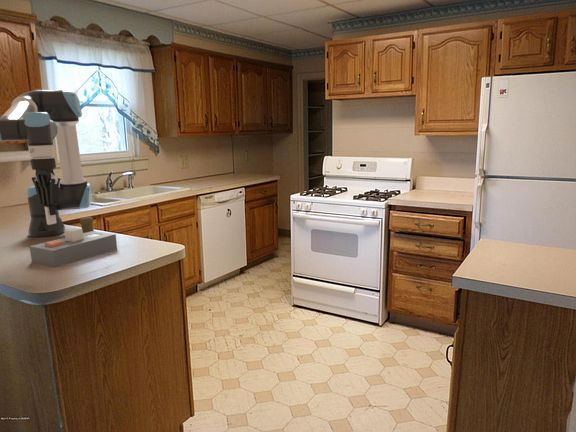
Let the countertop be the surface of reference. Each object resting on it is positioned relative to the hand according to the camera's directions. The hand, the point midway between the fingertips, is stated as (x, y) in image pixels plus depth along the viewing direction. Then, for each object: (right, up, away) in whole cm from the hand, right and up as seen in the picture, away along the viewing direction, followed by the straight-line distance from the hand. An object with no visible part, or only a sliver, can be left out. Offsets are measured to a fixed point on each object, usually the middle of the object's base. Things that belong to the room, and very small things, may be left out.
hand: (51, 223), depth 154 cm
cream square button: (+8, -9, +16) cm, 20 cm away
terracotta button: (0, -11, +2) cm, 11 cm away
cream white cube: (+4, -6, +8) cm, 11 cm away
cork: (0, -9, +28) cm, 30 cm away
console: (+4, -12, +9) cm, 16 cm away
